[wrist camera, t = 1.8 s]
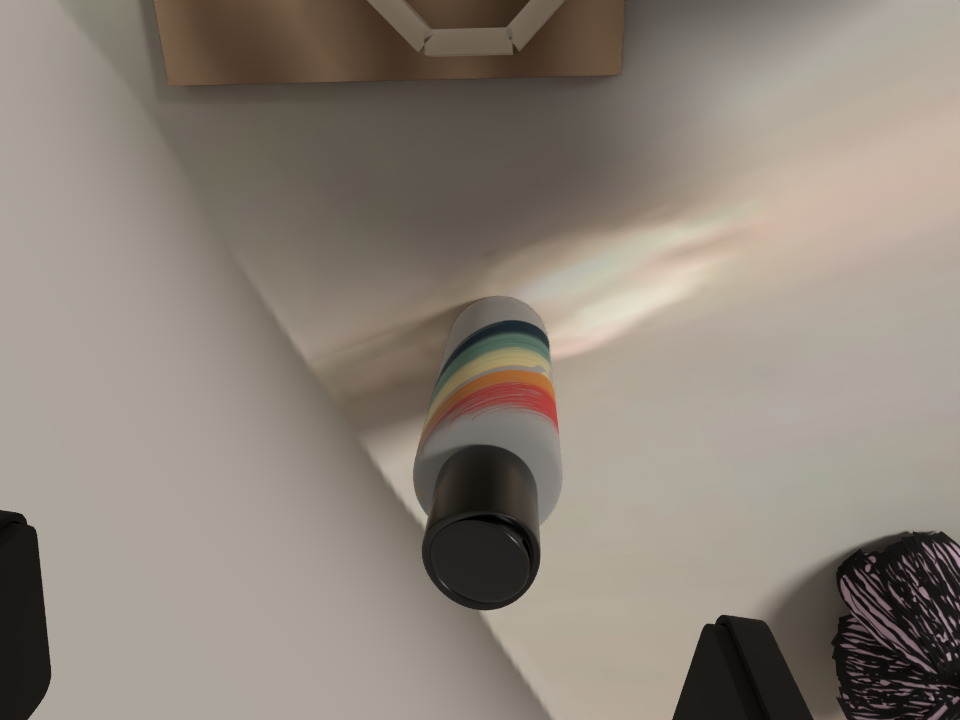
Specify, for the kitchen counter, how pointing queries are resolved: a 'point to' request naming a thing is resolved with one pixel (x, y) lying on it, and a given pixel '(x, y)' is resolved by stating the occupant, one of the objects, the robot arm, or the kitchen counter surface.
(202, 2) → the gear board
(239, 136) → the kitchen counter surface
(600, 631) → the kitchen counter surface
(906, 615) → the decorative flower
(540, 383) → the lotion bottle
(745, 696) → the robot arm
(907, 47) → the kitchen counter surface
